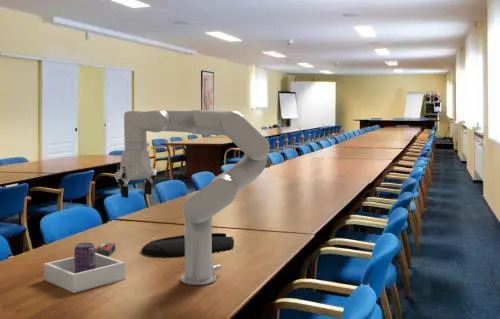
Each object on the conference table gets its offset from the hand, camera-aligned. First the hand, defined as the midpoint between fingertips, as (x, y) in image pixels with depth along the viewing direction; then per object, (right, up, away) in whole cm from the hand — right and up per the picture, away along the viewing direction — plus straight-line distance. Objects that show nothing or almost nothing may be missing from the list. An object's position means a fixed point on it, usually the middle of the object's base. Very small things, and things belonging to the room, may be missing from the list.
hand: (136, 195), depth 187 cm
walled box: (-19, -30, +4) cm, 36 cm away
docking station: (+12, -27, +47) cm, 56 cm away
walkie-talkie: (-23, -28, +37) cm, 51 cm away
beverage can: (-19, -30, +4) cm, 35 cm away
